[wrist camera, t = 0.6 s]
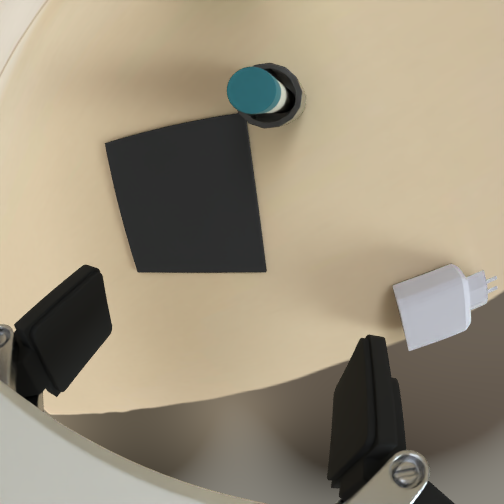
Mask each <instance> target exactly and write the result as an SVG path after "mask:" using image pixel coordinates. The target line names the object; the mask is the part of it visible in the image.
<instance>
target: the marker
mask: <svg viewBox="0 0 504 504" xmlns="http://www.w3.org/2000/svg"><path fill="white" fill-rule="evenodd" d="M227 96H228V99H229V101H230V103H231V104H232V105H233V107H234V108H236V109H237V110H239V111H241V112H243V113H247V114H262V113H284V112H286V111H288V110H289V109H290V108H291V107H292V105H293V101H294V97H293V94H292V92H291V91H290V90H289V89H288V88H287V87H286V86H284V85H283V84H282V83H280V82H279V81H278V80H277V79H276V78H275V77H274V76H272V75H271V74H270V73H268V72H267V71H265V70H264V69H261V68H258V67H246V68H243V69H240V70H239V71H237V72H236V73H235V74H234V75H233V76H232V77H231V78H230V80H229V82H228V86H227Z"/></svg>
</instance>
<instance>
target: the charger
mask: <svg viewBox="0 0 504 504" xmlns="http://www.w3.org/2000/svg"><path fill="white" fill-rule="evenodd" d="M496 279H497V276H494V277H492V278H490V279H487V280H486V277H485V273H484V270H482V271H480V272H478V273H475V274H473V275H471V276H468V277H465V275H464V274H463V272H462V271H461V270H460V268H459V267H457V266H455V265H454V264H452V263H451V264H449V265H446V266H444V267H441V268H438V269H436V270H433V271H431V272H428V273H425V274H423V275H420V276H417V277H414V278H412V279H409V280H406V281H403V282H401V283H398V284H395V285H392V286H393V290H394V294H395V298H396V302H397V306H398V310H399V314H400V318H401V322H402V326H403V330H404V333H405V337H406V341H407V345H408V349H409V351H410V350H414V349H416V348H420V347H422V346H425V345H428V344H431V343H434V342H437V341H439V340H442V339H445V338H447V337H450V336H453V335H455V334H458V333H460V332H463V331H465V330H466V329H467V328H468V326H469V324H470V323H471V310H472V309H475V308H477V307H479V306H482V305H484V304H486V302H487V299H488V293H490V292H492V291H494V290H497V286H495V287H493V288H491V289H488V290H487V283H489V282H492V281H494V280H496Z"/></svg>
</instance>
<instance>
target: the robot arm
mask: <svg viewBox="0 0 504 504" xmlns="http://www.w3.org/2000/svg"><path fill="white" fill-rule="evenodd" d="M14 326H15V328H16V331H15V332H13V330H12V328H11V327H10V326H8V325H5V324H0V504H265V503H261V502H256V501H252V500H247V499H242V498H238V497H234V496H230V495H226V494H223V493H219V492H215V491H212V490H208V489H205V488H202V487H198V486H195V485H192V484H189V483H186V482H183V481H180V480H177V479H174V478H172V477H169V476H167V475H163V474H161V473H159V472H156V471H154V470H151V469H148V468H146V467H144V466H142V465H139V464H137V463H135V462H133V461H130V460H128V459H126V458H124V457H122V456H120V455H118V454H115V453H113V452H111V451H109V450H107V449H105V448H104V447H102V446H100V445H98V444H96V443H94V442H92V441H90V440H89V439H87V438H85V437H83V436H81V435H80V434H78V433H76V432H75V431H73V430H71V429H70V428H68V427H66V426H65V425H63V424H61V423H60V422H58V421H57V420H55V419H54V418H52V417H50V416H49V415H48V414H46V413H45V412H44V406H43V391H44V389H45V388H46V389H47V391H48V392H50V393H51V394H53V395H55V396H56V397H57V396H58V395H59V394H60V392H64V391H65V390H66V389H67V388H68V386H69V385H70V384H71V382H72V381H73V380H74V379H75V377H76V376H77V375H78V374H79V372H80V371H81V370H82V368H83V367H84V366H85V365H86V363H87V362H88V361H89V360H90V358H91V357H92V356H93V355H94V354H95V352H96V351H97V350H98V349H99V347H100V346H101V345H102V344H103V343H104V341H105V340H106V339H107V338H108V337H109V335H110V334H111V331H112V324H111V319H110V314H109V309H108V304H107V299H106V293H105V288H104V282H103V276H102V274H101V273H100V270H99V269H98V268H95V267H92V266H89V265H83V266H82V267H80V268H79V269H78V270H77V271H75V272H74V273H73V274H72V275H71V276H69V277H68V278H67V279H66V280H64V281H63V282H62V283H61V284H60V285H58V286H57V287H56V288H55V289H54V290H52V291H51V292H50V293H49V294H48V295H47V296H45V297H44V298H43V299H42V300H41V301H40V302H39V303H37V304H36V305H35V306H34V307H33V308H32V309H31V310H30V311H28V312H27V313H26V314H25V315H24V316H23V317H22V318H21V319H20V320H19V321H18V322H16V323H15V324H14ZM429 476H430V468H429V464H428V463H427V460H426V459H425V458H424V457H423V456H422V455H421V454H419V453H417V452H416V451H411V450H406V442H405V431H404V421H403V412H402V404H401V398H400V390H399V384H398V381H397V379H396V378H391V372H390V366H389V359H388V353H387V347H386V341H385V338H384V337H380V336H374V335H367V336H366V338H361V339H360V340H359V342H358V344H357V346H356V349H355V351H354V353H353V355H352V357H351V359H350V361H349V363H348V365H347V367H346V369H345V371H344V373H343V375H342V377H341V379H340V381H339V383H338V385H337V386H336V389H335V392H334V399H333V417H332V431H331V443H330V455H329V464H328V474H327V479H328V480H332V484H331V488H340V491H339V497H340V498H341V499H340V500H338V501H337V502H336V503H335V504H454V503H453V502H452V501H451V500H450V499H449V498H447V497H446V496H445V495H444V494H443V493H442V492H441V491H439V490H438V489H437V488H436V487H435V486H434V485H433V484H432V483H430V482H429V481H428V480H429Z"/></svg>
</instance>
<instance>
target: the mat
mask: <svg viewBox="0 0 504 504" xmlns="http://www.w3.org/2000/svg"><path fill="white" fill-rule="evenodd" d="M105 146H106V152H107V157H108V161H109V166H110V171H111V175H112V180H113V184H114V189H115V193H116V197H117V201H118V205H119V209H120V213H121V217H122V220H123V224H124V228H125V231H126V235H127V238H128V242H129V245H130V249H131V252H132V255H133V259H134V262H135V265H136V268H137V271H138V272H162V273H227V272H266V271H267V270H266V263H265V255H264V247H263V239H262V231H261V224H260V216H259V209H258V201H257V194H256V186H255V179H254V171H253V164H252V157H251V150H250V142H249V135H248V128H247V121H246V120H245V119H244V118H243V117H242V116H241V115H240V114H239V113H237V114H230V115H224V116H218V117H212V118H207V119H201V120H196V121H191V122H186V123H181V124H177V125H172V126H168V127H164V128H159V129H155V130H151V131H147V132H143V133H139V134H136V135H132V136H128V137H125V138H121V139H118V140H114V141H111V142H108V143H105Z"/></svg>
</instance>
